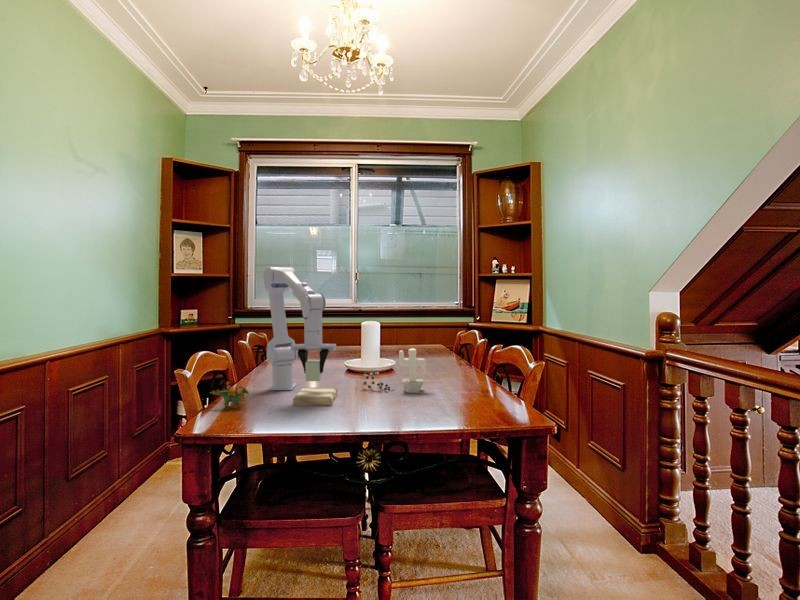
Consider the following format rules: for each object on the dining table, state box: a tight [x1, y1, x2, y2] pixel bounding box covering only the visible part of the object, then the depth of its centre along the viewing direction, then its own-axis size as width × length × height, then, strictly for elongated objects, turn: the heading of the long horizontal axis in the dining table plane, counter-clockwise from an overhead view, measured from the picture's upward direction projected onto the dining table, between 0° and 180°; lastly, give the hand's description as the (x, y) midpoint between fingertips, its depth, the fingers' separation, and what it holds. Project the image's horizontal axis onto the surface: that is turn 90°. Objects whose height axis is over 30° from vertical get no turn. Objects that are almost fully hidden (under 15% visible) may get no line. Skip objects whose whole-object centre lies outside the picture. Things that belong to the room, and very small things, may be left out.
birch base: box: [292, 386, 338, 407], centre depth 148 cm, size 14×12×2 cm
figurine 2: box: [398, 347, 427, 394], centre depth 159 cm, size 7×9×15 cm
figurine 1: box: [209, 381, 249, 410], centre depth 138 cm, size 3×12×8 cm, turn 90°
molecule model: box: [360, 368, 395, 393], centre depth 161 cm, size 6×12×8 cm, turn 74°
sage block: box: [304, 359, 323, 382], centre depth 147 cm, size 4×4×6 cm
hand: (313, 372), depth 148 cm, fingers closed on sage block, 4 cm apart
